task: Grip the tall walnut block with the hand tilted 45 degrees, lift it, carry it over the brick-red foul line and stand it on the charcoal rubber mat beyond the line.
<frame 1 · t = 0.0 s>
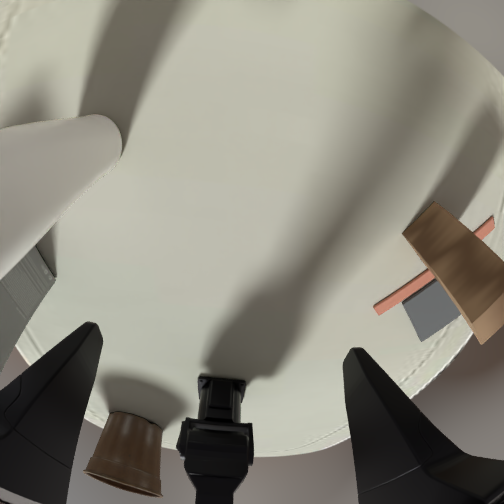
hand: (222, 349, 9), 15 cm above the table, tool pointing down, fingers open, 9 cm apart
walnut block: (428, 232, 23), on the table
skincare box: (29, 266, 25), on the table
mat: (449, 297, 28), on the table
plant pot: (135, 422, 46), on the table
foul line: (440, 265, 25), on the table
drinking glass: (98, 144, 19), on the table
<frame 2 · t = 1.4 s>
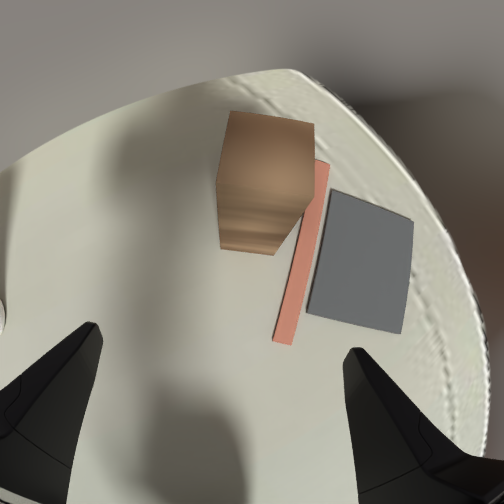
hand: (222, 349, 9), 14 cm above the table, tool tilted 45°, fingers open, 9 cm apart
walnut block: (250, 227, 25), on the table
mat: (367, 262, 25), on the table
foul line: (306, 243, 25), on the table
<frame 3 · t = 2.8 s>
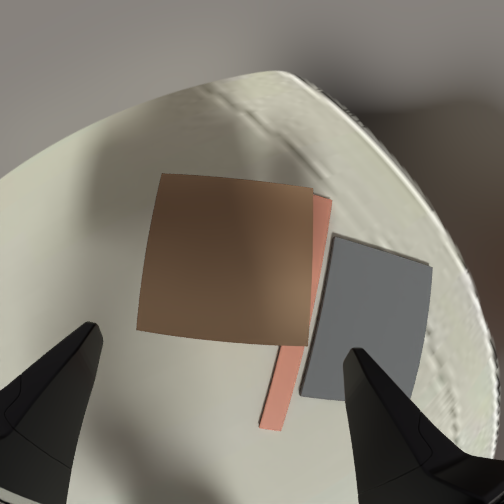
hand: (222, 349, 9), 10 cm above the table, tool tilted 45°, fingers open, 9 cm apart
walnut block: (228, 293, 19), on the table
mat: (376, 327, 19), on the table
foul line: (300, 311, 19), on the table
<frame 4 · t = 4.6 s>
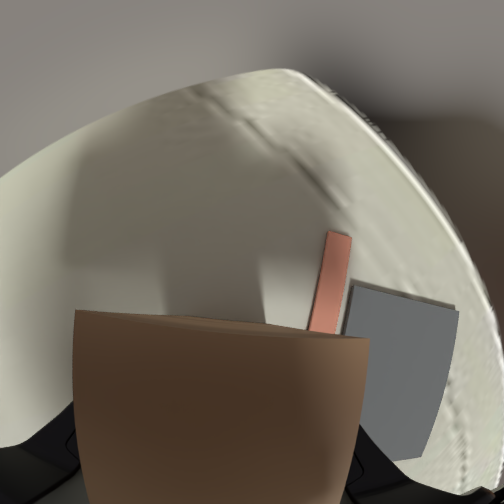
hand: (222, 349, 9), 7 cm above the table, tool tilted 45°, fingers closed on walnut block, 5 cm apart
walnut block: (222, 359, 15), on the table, touching gripper
mat: (394, 386, 15), on the table
foul line: (309, 377, 15), on the table
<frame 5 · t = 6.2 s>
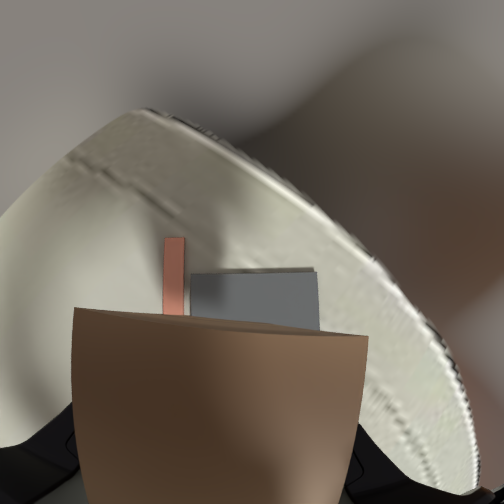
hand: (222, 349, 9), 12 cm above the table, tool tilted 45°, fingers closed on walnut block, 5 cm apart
walnut block: (222, 358, 15), point 6 cm above the table, touching gripper
mat: (257, 349, 21), on the table
foul line: (174, 350, 20), on the table
when the fingers open (8 cm above the table, at t = 7.8 s): walnut block stays where it is, resting on mat.
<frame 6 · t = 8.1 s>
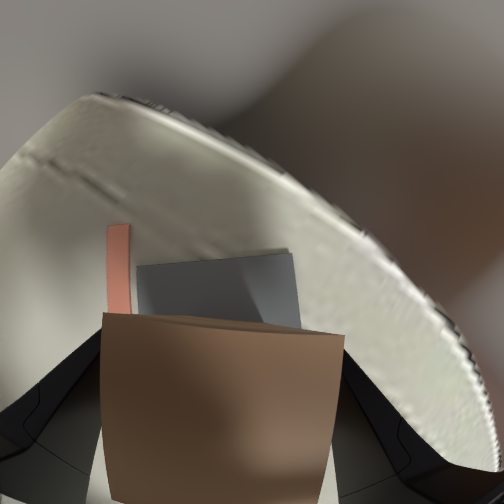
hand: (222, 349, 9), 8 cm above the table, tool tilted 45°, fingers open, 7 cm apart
walnut block: (223, 356, 16), resting on mat
mat: (222, 355, 16), on the table
foul line: (125, 359, 16), on the table
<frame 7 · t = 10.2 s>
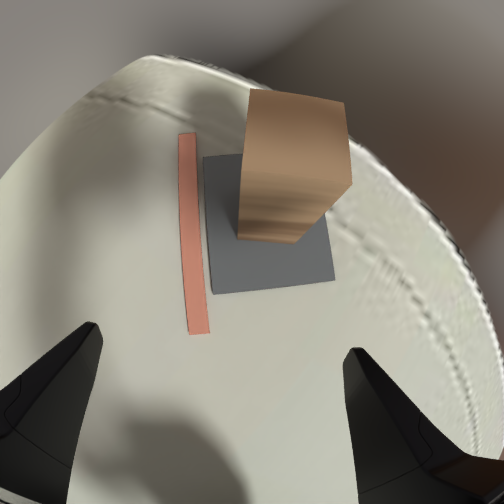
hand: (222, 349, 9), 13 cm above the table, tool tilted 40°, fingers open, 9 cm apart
walnut block: (267, 214, 23), resting on mat
mat: (266, 216, 23), on the table
foul line: (190, 223, 23), on the table
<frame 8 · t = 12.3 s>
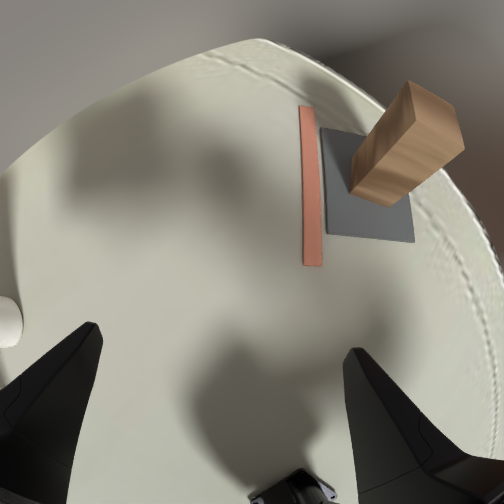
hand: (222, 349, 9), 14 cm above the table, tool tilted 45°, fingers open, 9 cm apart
walnut block: (370, 181, 26), resting on mat
mat: (368, 183, 26), on the table
foul line: (310, 174, 26), on the table
drinking glass: (11, 322, 20), on the table
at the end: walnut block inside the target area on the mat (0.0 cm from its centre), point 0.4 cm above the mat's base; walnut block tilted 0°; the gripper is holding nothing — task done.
